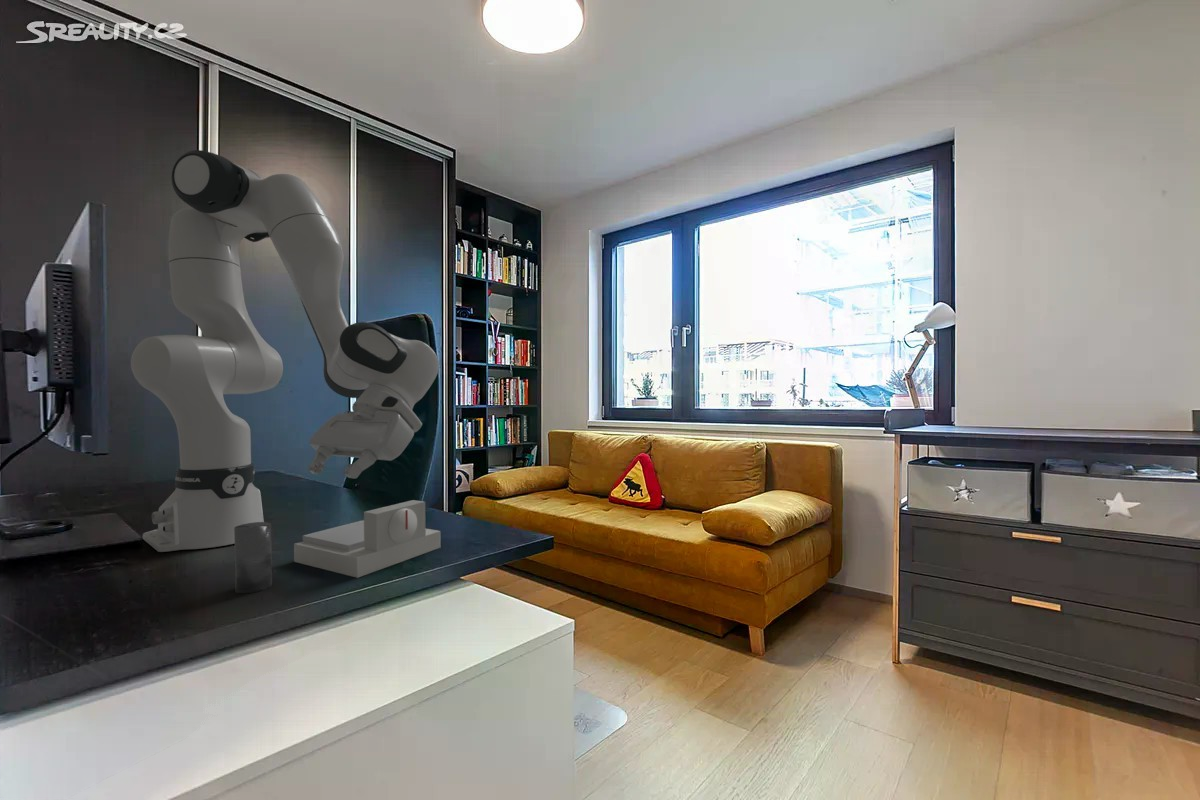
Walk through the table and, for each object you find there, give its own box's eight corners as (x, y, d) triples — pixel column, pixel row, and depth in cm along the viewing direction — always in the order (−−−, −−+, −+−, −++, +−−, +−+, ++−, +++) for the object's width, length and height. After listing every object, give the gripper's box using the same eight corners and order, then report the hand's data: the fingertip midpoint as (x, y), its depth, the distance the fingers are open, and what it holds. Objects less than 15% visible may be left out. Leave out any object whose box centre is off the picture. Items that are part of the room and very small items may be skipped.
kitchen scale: (294, 561, 86) (293, 507, 86) (380, 536, 101) (379, 490, 101) (359, 578, 78) (359, 519, 78) (442, 547, 93) (442, 498, 93)
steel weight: (229, 590, 74) (227, 527, 74) (261, 580, 78) (260, 520, 78) (246, 595, 72) (244, 531, 72) (278, 585, 76) (277, 524, 76)
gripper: (331, 400, 97) (279, 458, 88) (409, 400, 87) (358, 466, 79) (353, 422, 101) (305, 480, 92) (429, 425, 91) (383, 490, 83)
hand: (330, 474), depth 85 cm, fingers open, 8 cm apart
